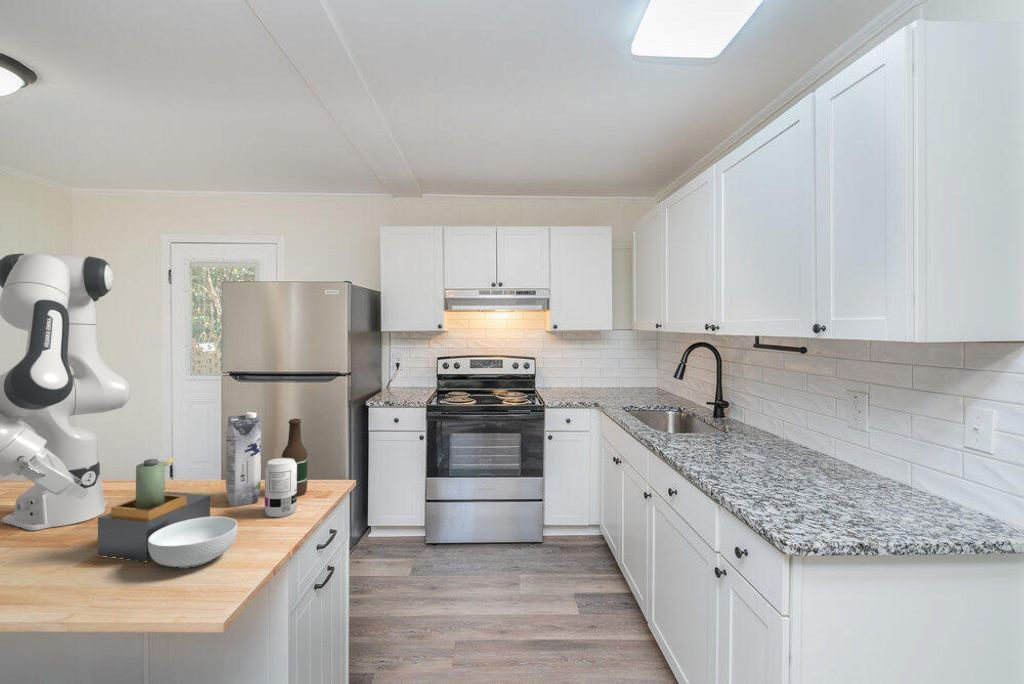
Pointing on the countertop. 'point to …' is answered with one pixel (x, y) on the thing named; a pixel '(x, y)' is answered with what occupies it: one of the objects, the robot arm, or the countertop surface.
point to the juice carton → (243, 459)
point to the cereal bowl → (192, 541)
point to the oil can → (151, 483)
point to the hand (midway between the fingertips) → (82, 489)
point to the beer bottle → (297, 455)
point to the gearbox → (145, 524)
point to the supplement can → (280, 487)
